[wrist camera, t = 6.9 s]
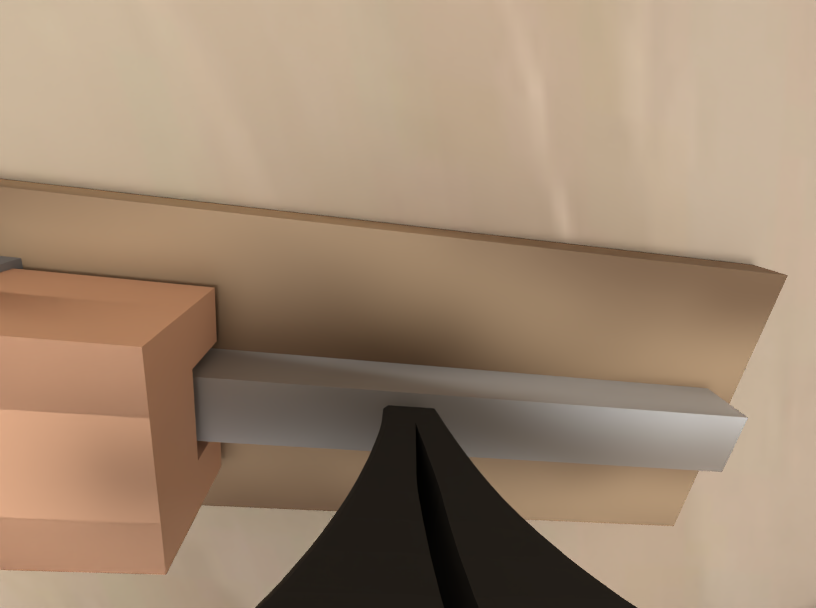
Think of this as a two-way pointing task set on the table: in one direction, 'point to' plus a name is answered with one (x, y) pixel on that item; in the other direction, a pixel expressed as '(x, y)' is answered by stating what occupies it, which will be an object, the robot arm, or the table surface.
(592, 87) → the table surface
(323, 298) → the rail board
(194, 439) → the slider block
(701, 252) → the table surface
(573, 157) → the table surface
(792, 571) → the table surface
